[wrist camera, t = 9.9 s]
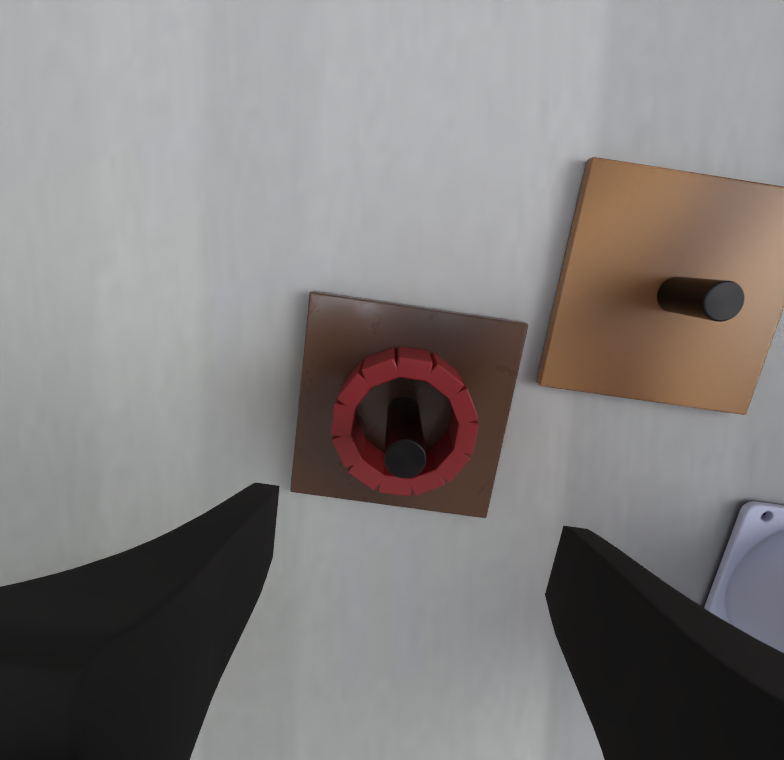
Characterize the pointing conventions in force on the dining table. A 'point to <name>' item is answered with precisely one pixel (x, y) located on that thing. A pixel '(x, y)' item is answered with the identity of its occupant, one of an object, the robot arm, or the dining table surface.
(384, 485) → the ring
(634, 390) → the short stand
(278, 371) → the dining table surface
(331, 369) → the square base plate
